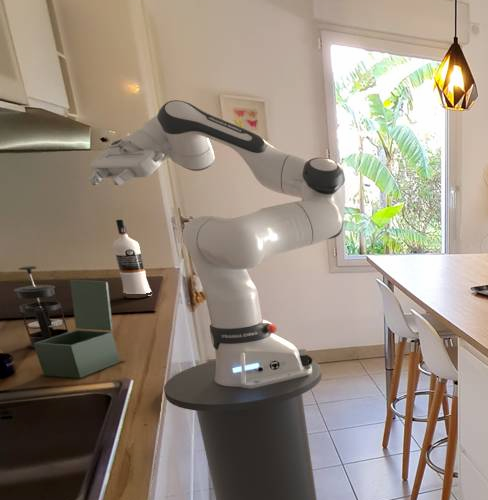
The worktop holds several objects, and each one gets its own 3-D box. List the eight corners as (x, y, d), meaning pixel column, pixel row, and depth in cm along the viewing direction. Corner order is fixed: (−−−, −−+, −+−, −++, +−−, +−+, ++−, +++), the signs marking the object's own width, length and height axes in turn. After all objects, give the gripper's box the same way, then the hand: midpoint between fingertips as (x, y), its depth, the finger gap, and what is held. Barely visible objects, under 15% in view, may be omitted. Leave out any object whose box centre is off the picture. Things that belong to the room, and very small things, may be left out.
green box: (80, 378, 140) (70, 345, 137) (43, 375, 141) (33, 343, 138) (120, 362, 151) (112, 331, 148) (86, 359, 152) (77, 329, 149)
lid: (105, 281, 145) (107, 281, 146) (69, 279, 146) (72, 279, 147) (110, 330, 148) (113, 330, 148) (75, 328, 149) (78, 328, 149)
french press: (32, 341, 165) (7, 265, 156) (72, 336, 170) (50, 262, 162) (29, 352, 156) (3, 271, 148) (71, 346, 162) (48, 269, 153)
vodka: (151, 293, 226) (133, 218, 215) (153, 297, 219) (135, 220, 208) (123, 296, 220) (103, 218, 209) (125, 300, 213) (105, 221, 202)
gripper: (176, 162, 145) (139, 193, 138) (126, 163, 153) (89, 193, 145) (158, 140, 140) (119, 171, 133) (108, 142, 148) (68, 171, 140)
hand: (103, 182), depth 139 cm, fingers open, 8 cm apart
